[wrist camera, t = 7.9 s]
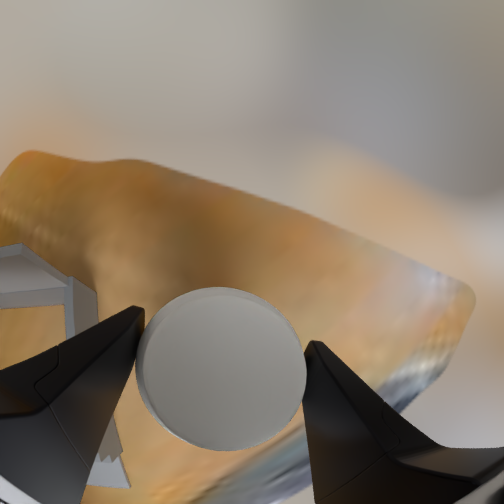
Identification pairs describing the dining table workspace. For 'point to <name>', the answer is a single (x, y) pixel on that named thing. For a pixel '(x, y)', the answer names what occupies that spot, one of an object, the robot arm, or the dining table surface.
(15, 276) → the carton
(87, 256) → the dining table surface
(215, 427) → the supplement bottle
